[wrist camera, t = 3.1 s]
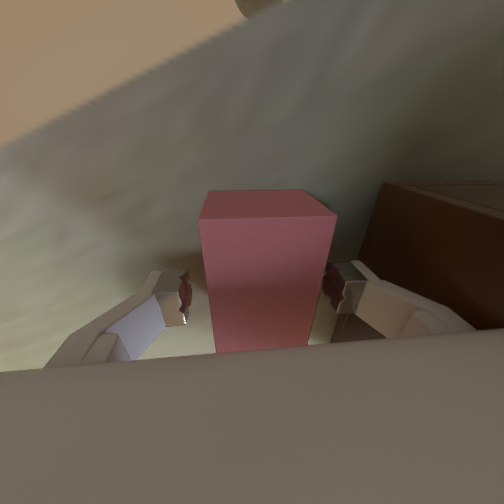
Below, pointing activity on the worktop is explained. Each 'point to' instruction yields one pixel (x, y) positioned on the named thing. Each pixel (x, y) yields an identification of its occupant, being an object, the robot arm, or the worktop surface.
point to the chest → (437, 250)
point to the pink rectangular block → (264, 265)
